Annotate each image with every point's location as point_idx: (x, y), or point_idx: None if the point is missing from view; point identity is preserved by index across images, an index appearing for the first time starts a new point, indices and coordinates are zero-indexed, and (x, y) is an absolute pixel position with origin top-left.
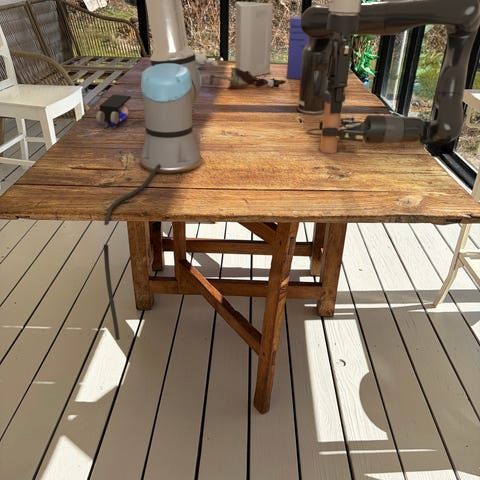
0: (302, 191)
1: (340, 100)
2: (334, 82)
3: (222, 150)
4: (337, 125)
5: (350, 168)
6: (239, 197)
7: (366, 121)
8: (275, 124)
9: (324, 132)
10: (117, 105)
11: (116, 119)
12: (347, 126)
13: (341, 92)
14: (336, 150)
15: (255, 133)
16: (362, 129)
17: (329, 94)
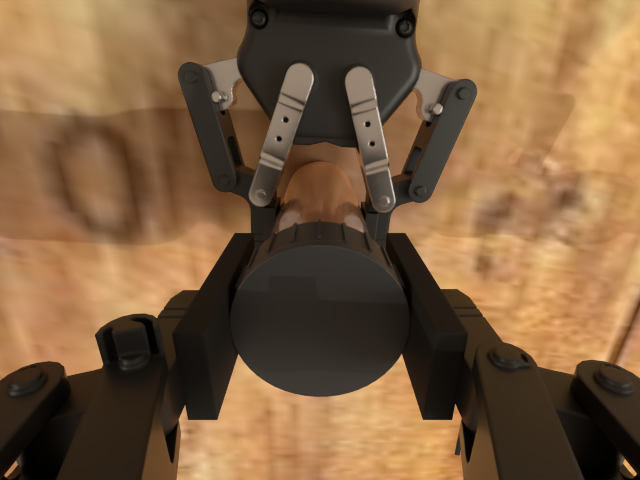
0: (635, 328)
1: (460, 296)
2: (462, 462)
3: (317, 473)
4: (359, 209)
5: (510, 150)
6: None
7: (313, 10)
8: (42, 334)
9: None
10: None
11: None
12: (385, 160)
13: (495, 338)
14: (338, 167)
15: None
16: (407, 69)
17: (379, 376)
